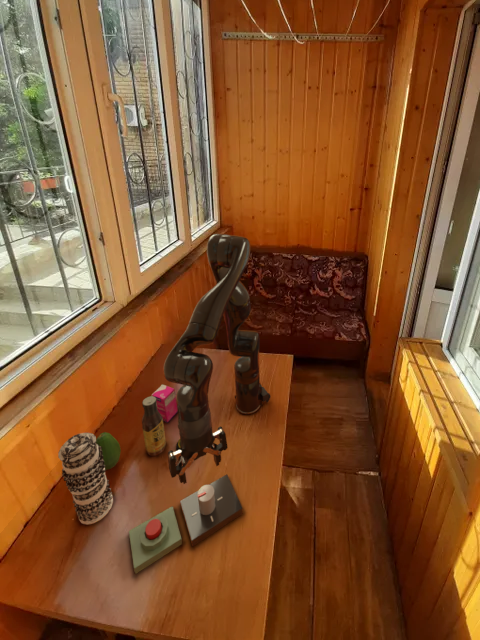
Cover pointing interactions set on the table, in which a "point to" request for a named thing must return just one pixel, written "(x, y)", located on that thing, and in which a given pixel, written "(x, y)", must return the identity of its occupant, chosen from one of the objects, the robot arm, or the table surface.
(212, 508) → the stove knob
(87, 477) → the decorative candle
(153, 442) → the sauce bottle
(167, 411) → the supplement box
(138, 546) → the block
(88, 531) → the table surface
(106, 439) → the avocado
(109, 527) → the table surface
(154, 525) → the power button
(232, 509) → the hob panel
